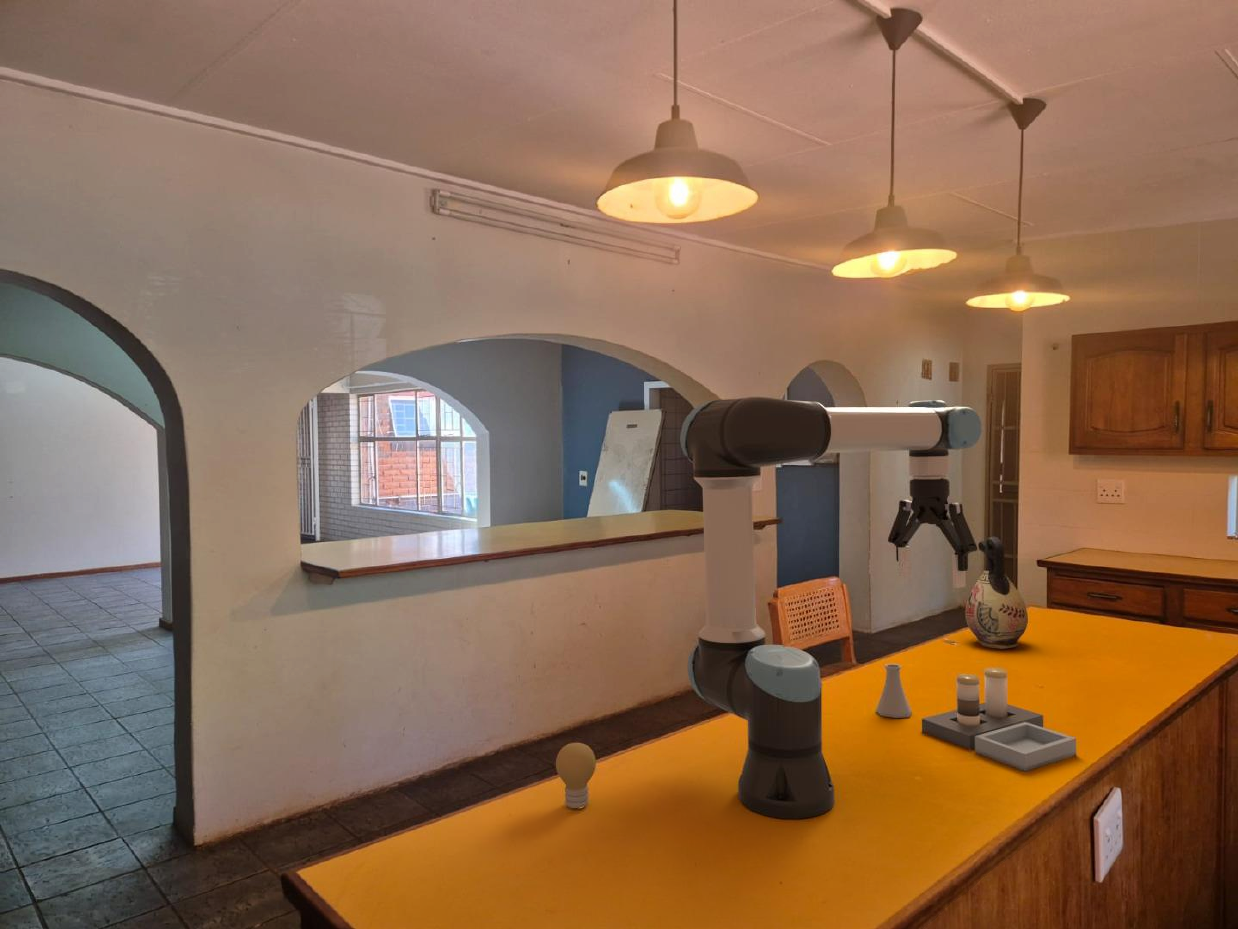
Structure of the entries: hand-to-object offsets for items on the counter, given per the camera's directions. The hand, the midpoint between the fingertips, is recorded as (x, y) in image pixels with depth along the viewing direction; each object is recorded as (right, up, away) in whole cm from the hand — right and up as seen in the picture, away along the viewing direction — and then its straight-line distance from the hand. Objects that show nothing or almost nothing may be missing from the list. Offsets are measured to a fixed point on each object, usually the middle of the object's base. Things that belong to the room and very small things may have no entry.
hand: (931, 582), depth 165 cm
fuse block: (+8, -28, -6) cm, 29 cm away
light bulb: (-70, -31, -35) cm, 84 cm away
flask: (-6, -28, +5) cm, 29 cm away
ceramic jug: (+39, -25, +56) cm, 73 cm away
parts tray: (+10, -28, -18) cm, 35 cm away
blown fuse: (+4, -28, -8) cm, 29 cm away
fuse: (+11, -28, -4) cm, 30 cm away
